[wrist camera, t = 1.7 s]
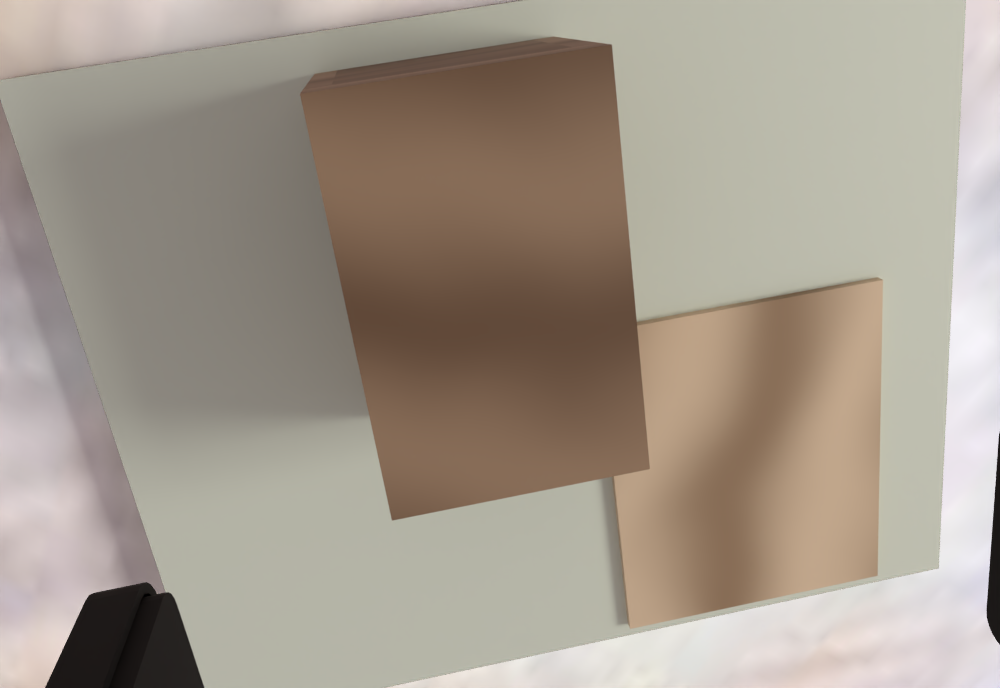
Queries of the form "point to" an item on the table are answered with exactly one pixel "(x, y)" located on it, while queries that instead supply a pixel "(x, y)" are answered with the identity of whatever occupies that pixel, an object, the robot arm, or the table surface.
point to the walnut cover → (485, 267)
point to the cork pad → (755, 453)
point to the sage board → (328, 339)
